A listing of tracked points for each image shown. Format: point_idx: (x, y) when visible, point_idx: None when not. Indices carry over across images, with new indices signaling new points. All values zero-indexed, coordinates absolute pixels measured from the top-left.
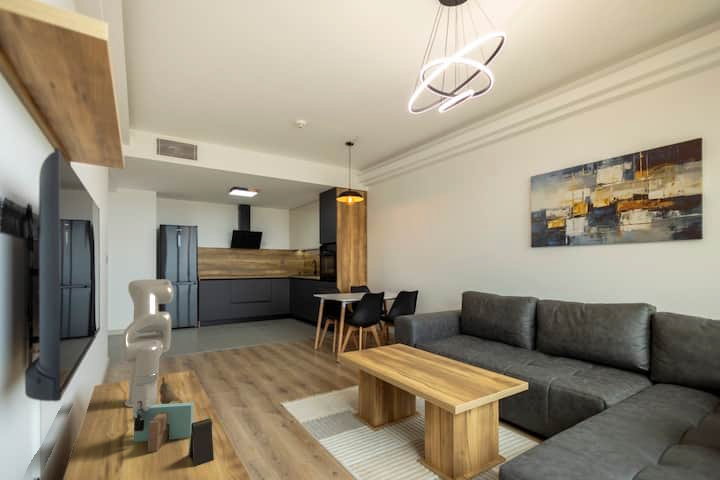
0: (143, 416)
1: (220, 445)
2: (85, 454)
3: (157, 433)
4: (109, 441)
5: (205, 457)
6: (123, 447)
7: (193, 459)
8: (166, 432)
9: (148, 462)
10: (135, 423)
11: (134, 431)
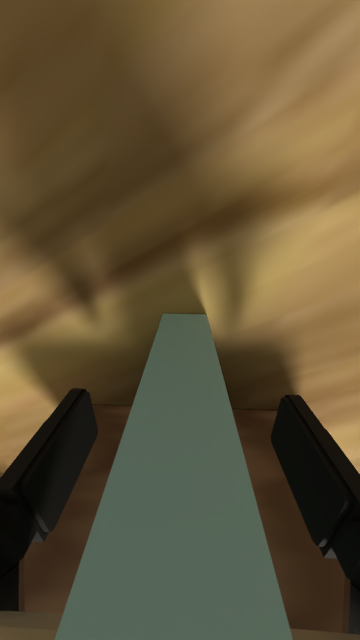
0: (12, 586)
1: None
2: (6, 55)
3: None
4: (191, 143)
5: None
6: (108, 289)
7: None
8: None
9: (10, 425)
10: (33, 451)
11: (155, 342)
